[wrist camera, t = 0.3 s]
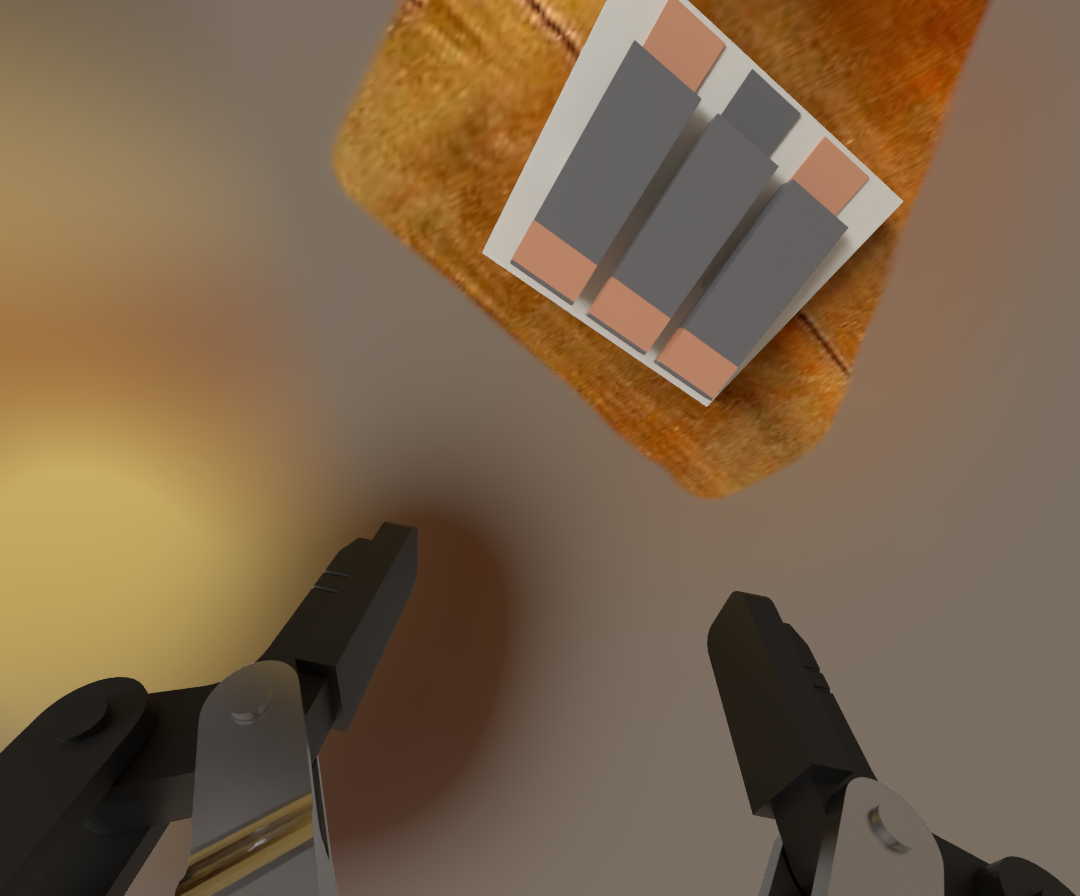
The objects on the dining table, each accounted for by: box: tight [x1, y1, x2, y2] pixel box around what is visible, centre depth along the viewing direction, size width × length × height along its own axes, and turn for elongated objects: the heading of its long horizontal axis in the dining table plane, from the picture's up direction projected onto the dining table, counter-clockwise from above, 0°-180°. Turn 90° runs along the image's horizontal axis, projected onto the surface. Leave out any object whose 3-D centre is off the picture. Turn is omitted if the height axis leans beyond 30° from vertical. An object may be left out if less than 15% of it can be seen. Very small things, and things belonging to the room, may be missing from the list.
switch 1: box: [510, 40, 702, 305], centre depth 23 cm, size 12×4×1 cm, turn 148°
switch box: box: [482, 0, 903, 407], centre depth 27 cm, size 16×20×5 cm
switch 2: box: [586, 113, 779, 355], centre depth 24 cm, size 12×4×1 cm, turn 148°
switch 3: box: [654, 179, 848, 401], centre depth 25 cm, size 12×4×1 cm, turn 148°
